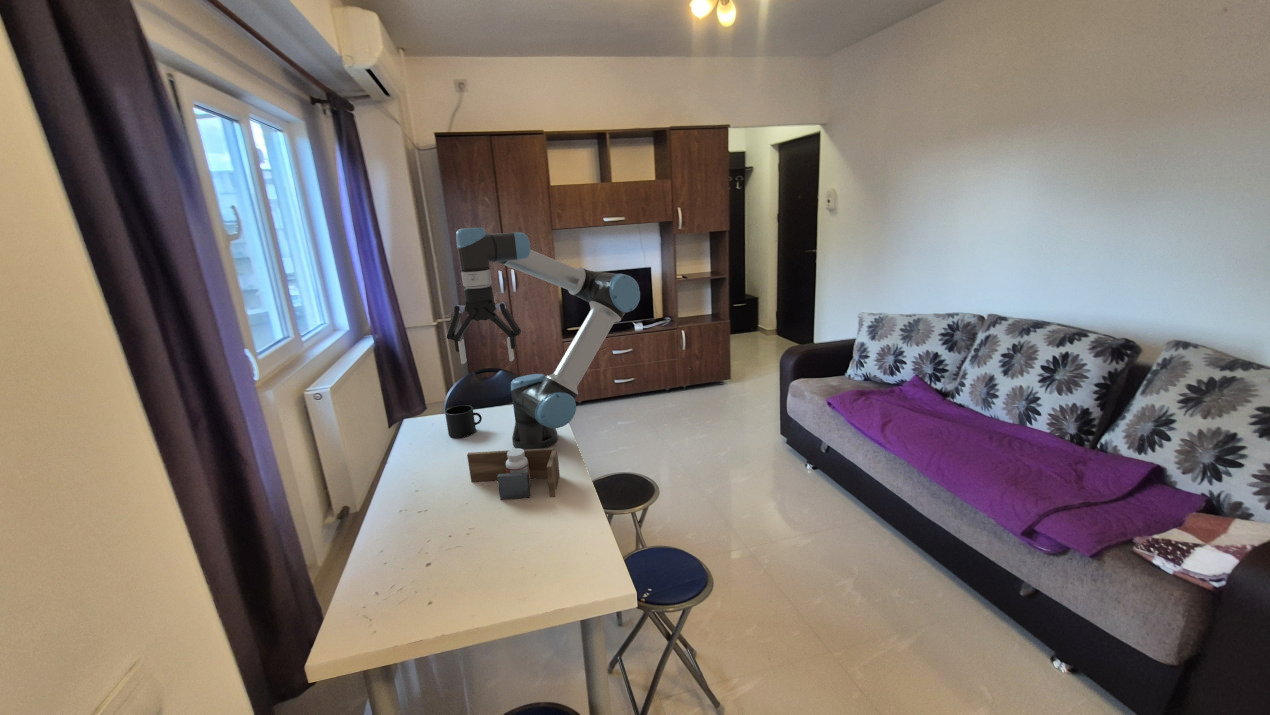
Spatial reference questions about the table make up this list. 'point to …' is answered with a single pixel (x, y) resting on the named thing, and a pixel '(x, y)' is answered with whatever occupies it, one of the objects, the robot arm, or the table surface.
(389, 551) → the table surface
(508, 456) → the pill bottle
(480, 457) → the wooden corner wall
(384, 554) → the table surface
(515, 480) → the dark rectangular block
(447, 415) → the mug
